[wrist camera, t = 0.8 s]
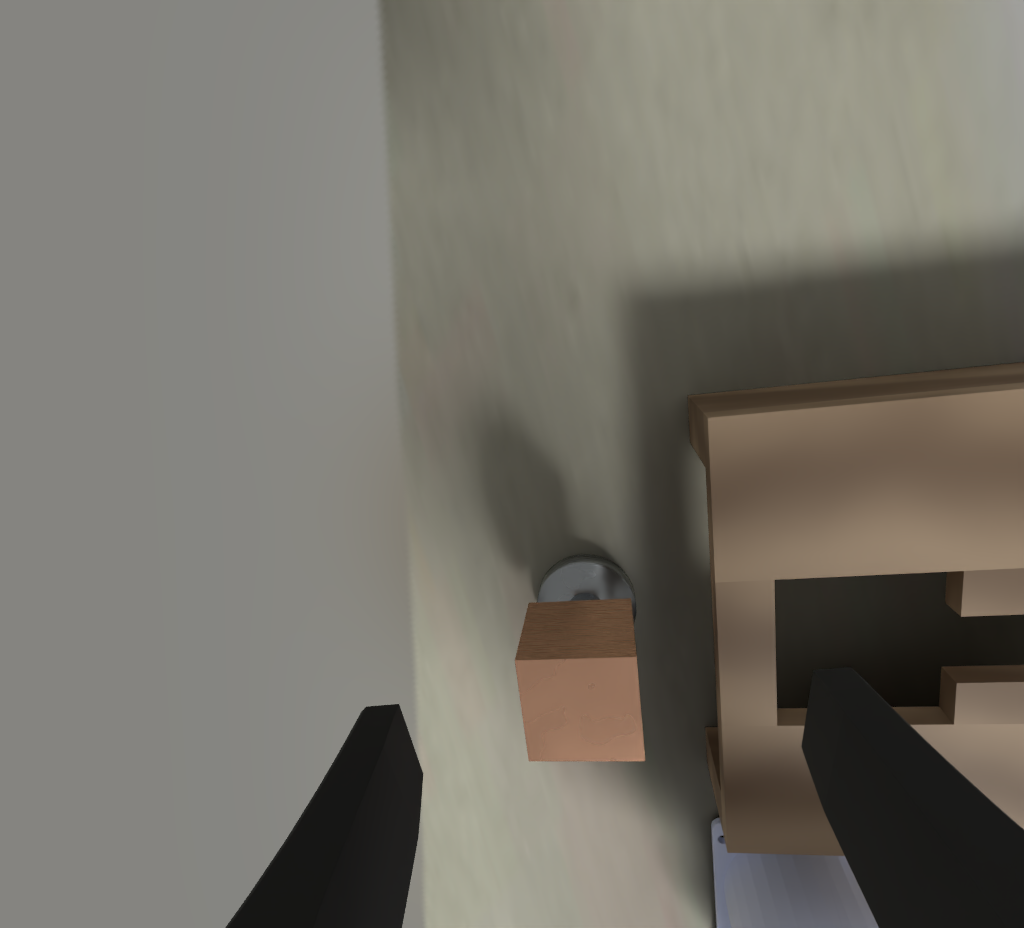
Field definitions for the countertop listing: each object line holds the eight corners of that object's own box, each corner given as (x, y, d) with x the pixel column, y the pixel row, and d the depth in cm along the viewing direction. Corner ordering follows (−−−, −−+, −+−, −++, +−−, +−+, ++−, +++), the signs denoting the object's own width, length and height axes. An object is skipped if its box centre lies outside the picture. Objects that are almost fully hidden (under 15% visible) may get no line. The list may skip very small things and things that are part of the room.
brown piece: (638, 639, 28) (651, 766, 20) (544, 642, 29) (523, 765, 21) (631, 551, 27) (642, 651, 19) (534, 557, 28) (508, 655, 20)
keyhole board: (1084, 763, 26) (1190, 865, 22) (707, 762, 29) (727, 852, 24) (1137, 350, 22) (1285, 364, 17) (687, 395, 25) (707, 418, 20)
